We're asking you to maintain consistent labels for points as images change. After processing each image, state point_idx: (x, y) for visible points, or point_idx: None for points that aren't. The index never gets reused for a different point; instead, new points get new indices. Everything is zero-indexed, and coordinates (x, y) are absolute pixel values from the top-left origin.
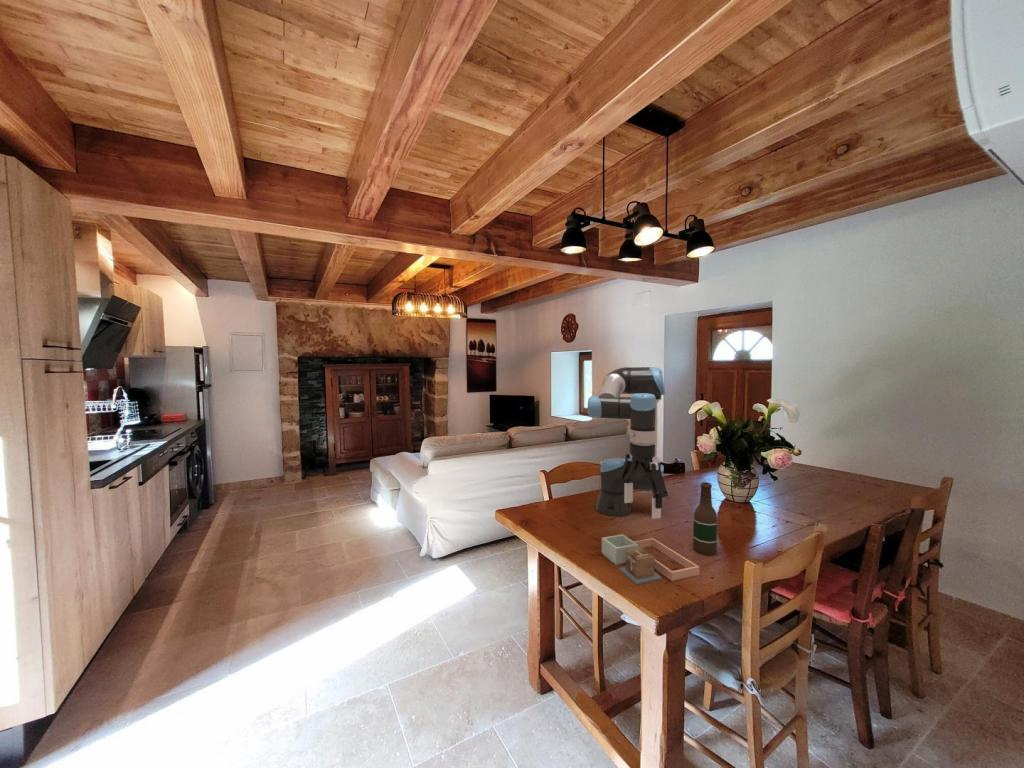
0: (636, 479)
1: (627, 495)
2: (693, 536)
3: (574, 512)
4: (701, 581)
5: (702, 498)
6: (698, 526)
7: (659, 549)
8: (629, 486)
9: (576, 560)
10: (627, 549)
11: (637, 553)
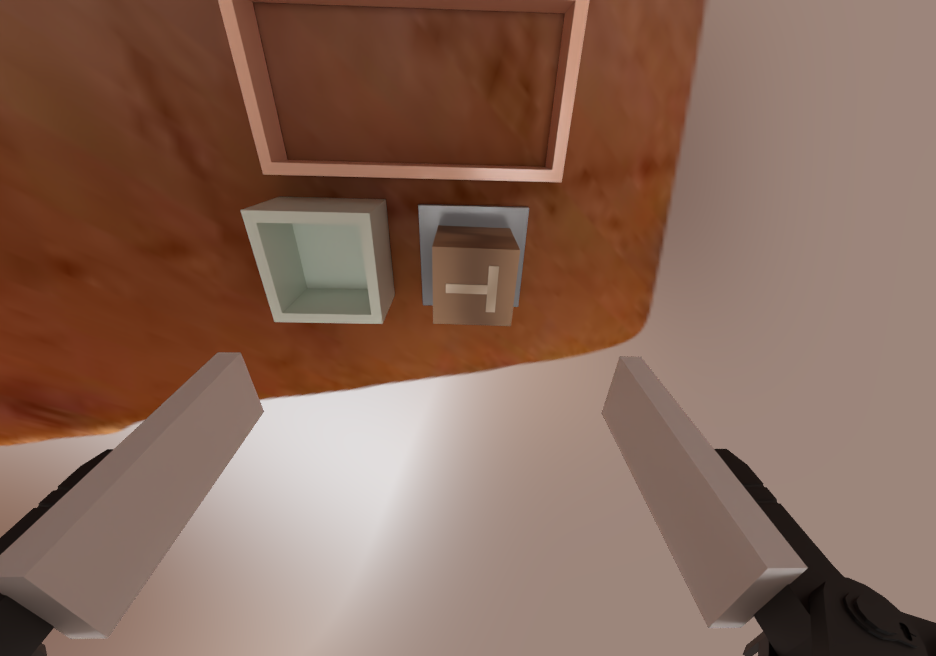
0: None
1: (215, 456)
2: None
3: None
4: (617, 45)
5: None
6: None
7: (307, 1)
8: (115, 548)
9: (338, 381)
10: (379, 268)
11: (468, 296)
